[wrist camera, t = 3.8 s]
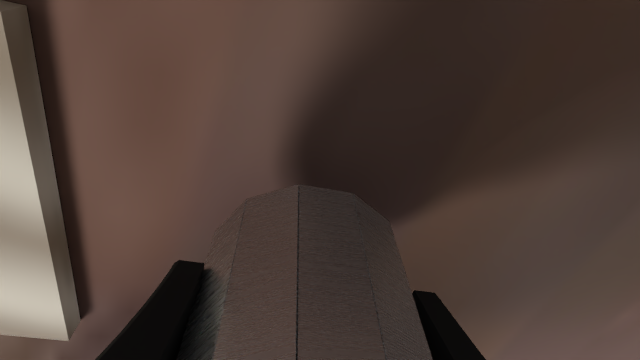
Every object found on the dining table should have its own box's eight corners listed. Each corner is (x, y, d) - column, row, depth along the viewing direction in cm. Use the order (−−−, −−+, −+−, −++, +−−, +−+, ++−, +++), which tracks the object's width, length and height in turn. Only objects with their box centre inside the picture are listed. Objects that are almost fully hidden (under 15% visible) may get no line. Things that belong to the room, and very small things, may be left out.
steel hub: (366, 329, 13) (396, 510, 9) (206, 311, 12) (157, 502, 8) (423, 204, 10) (505, 383, 6) (220, 170, 10) (157, 351, 5)
